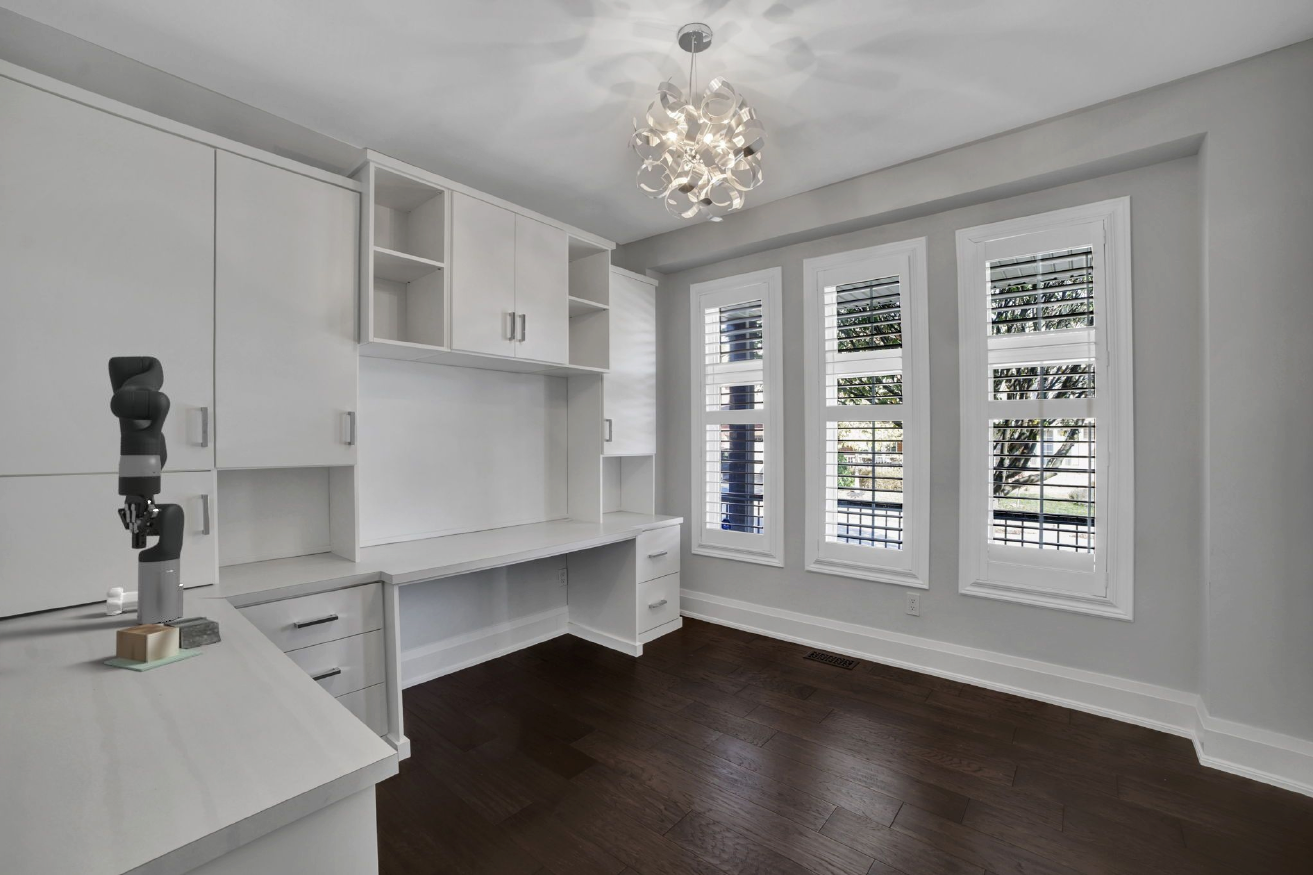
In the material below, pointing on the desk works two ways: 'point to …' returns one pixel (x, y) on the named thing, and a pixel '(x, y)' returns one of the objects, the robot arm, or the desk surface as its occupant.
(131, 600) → the bone shaped toy
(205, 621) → the stone block
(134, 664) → the sage mat
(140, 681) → the desk surface
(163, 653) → the walnut block
